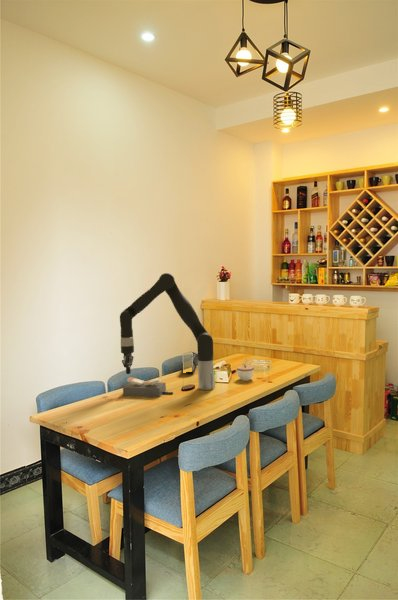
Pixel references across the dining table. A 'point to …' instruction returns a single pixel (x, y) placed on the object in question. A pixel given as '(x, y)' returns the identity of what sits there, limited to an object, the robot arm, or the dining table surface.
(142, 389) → the switch box
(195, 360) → the clear pitcher
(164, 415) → the dining table surface
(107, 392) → the dining table surface
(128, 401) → the dining table surface
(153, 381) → the rocker inner
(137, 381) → the rocker outer
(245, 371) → the lidded jar
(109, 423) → the dining table surface
